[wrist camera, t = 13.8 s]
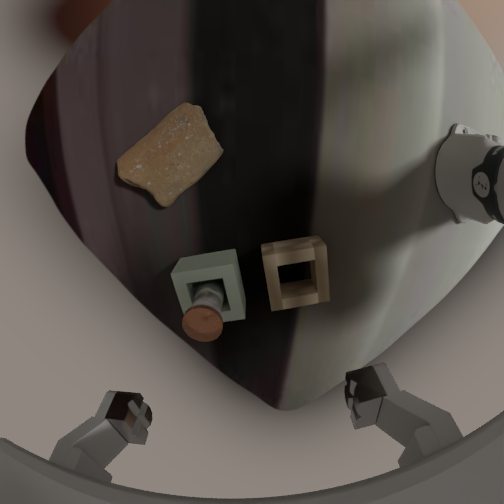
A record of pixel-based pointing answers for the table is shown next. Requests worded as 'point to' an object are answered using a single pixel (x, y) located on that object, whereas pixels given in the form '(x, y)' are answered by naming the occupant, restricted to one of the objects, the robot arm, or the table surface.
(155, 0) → the table surface
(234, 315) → the socket block
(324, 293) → the mount block
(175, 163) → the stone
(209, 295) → the pin
